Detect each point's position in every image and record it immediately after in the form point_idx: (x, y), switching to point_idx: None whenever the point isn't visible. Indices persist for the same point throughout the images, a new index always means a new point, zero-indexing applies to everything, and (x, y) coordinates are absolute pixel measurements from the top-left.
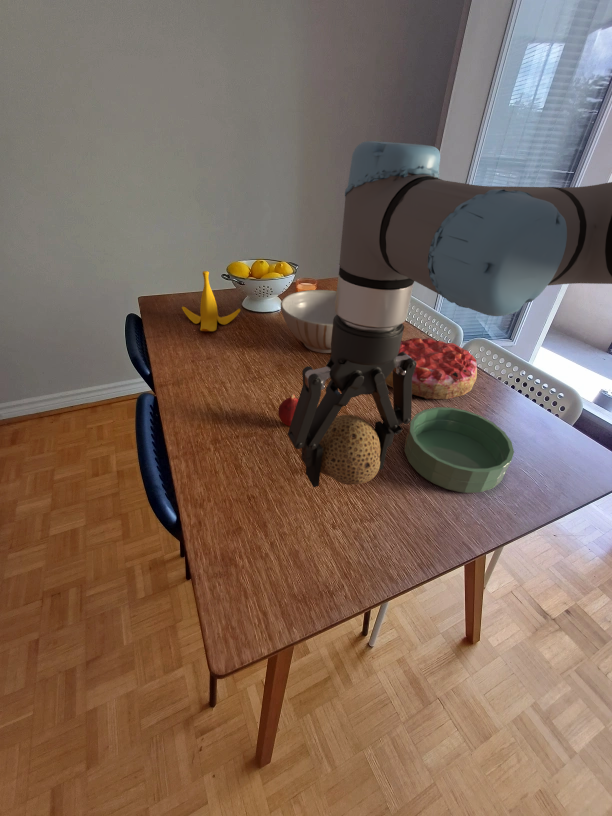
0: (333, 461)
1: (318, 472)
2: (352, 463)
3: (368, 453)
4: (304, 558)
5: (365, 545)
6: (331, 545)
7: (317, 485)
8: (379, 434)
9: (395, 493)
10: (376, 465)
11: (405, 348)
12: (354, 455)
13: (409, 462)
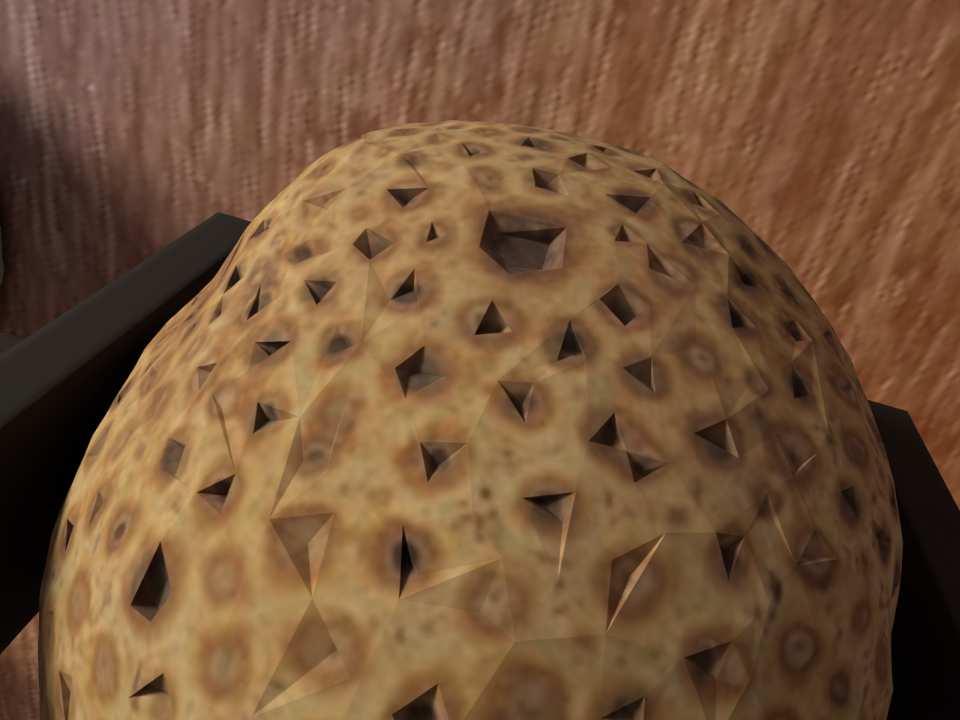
0: (897, 567)
1: (928, 517)
2: (751, 393)
3: (417, 387)
4: (780, 148)
5: (483, 27)
6: (623, 128)
7: (873, 405)
8: (21, 527)
9: (165, 174)
10: (364, 180)
11: None
12: (690, 494)
13: (2, 265)
